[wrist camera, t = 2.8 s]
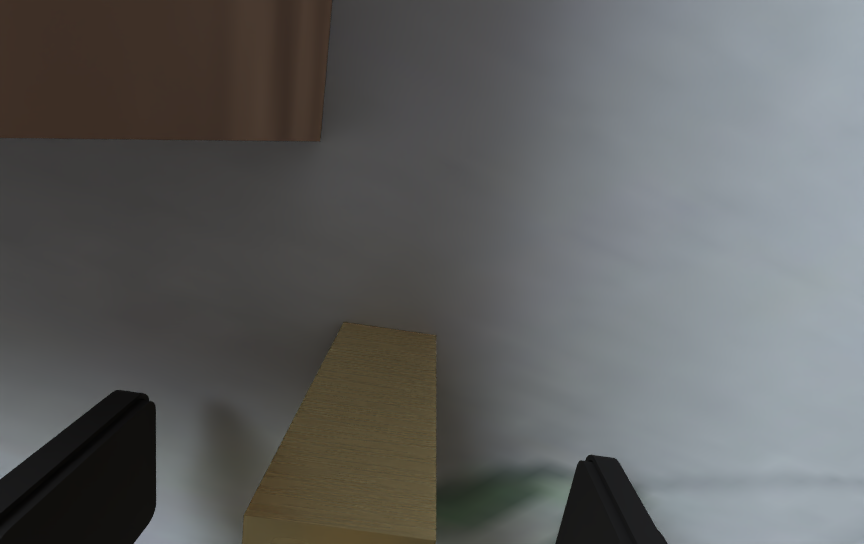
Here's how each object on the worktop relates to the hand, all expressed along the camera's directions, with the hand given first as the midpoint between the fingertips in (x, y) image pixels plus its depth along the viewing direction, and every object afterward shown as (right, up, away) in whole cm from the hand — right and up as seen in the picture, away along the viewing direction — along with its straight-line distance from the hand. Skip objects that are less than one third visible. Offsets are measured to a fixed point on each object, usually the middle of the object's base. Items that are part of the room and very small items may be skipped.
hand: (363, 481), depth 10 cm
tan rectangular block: (0, 0, +2) cm, 2 cm away
